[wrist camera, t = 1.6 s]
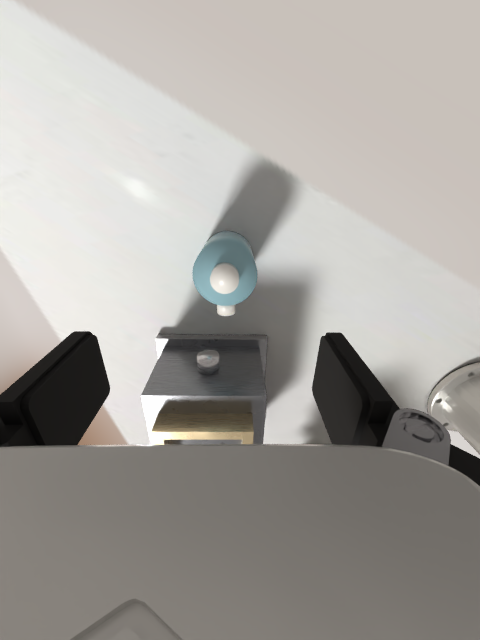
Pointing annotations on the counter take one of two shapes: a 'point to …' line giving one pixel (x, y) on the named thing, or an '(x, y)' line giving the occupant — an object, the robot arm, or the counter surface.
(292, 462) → the robot arm
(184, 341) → the grey box
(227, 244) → the drain pump
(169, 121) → the counter surface
